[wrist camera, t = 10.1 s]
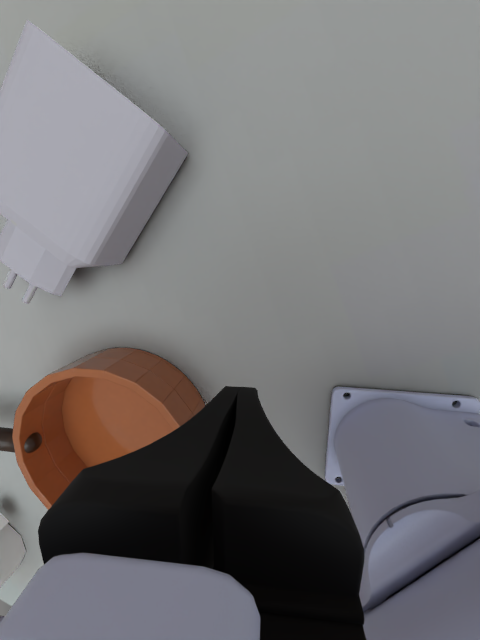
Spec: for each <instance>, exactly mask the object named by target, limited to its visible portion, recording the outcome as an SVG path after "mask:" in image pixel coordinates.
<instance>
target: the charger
mask: <svg viewBox="0 0 480 640" xmlns="http://www.w3.org/2000/svg"><path fill="white" fill-rule="evenodd" d="M187 155H188V152H187V151H186V150H185V149H184V148H183V147H182V146H181V145H180V144H179V143H178V142H177V141H176V140H175V139H174V138H173V137H172V136H171V135H170V134H169V133H168V132H167V131H166V130H165V129H164V128H163V127H162V126H160V125H159V124H158V123H157V122H156V121H155V120H153V119H152V118H151V117H150V116H149V115H147V114H146V113H145V112H144V111H142V110H141V109H140V108H139V107H137V106H136V105H135V104H134V103H132V102H131V101H130V100H129V99H127V98H126V97H125V96H124V95H122V94H121V93H120V92H119V91H117V90H116V89H115V88H114V87H112V86H111V85H110V84H109V83H107V82H106V81H105V80H104V79H102V78H101V77H100V76H99V75H97V74H96V73H95V72H93V71H92V70H91V69H90V68H88V67H87V66H86V65H85V64H83V63H82V62H81V61H80V60H78V59H77V58H76V57H75V56H73V55H72V54H71V53H70V52H68V51H67V50H66V49H65V48H63V47H62V46H61V45H60V44H58V43H57V42H56V41H55V40H53V39H52V38H51V37H49V36H48V35H47V34H46V33H44V32H43V31H42V30H41V29H39V28H38V27H37V26H36V25H34V24H33V23H32V22H30V21H29V20H27V21H26V23H25V26H24V29H23V31H22V34H21V36H20V39H19V42H18V44H17V47H16V50H15V52H14V55H13V57H12V60H11V63H10V65H9V68H8V71H7V73H6V76H5V79H4V81H3V84H2V86H1V89H0V214H1V215H2V216H4V217H5V218H6V219H7V221H6V223H5V225H4V227H3V230H2V232H1V234H0V261H1V262H2V263H4V264H5V265H6V266H7V267H9V268H10V271H9V273H8V275H7V277H6V279H5V281H4V283H3V286H4V288H7V289H10V288H11V286H12V284H13V282H14V280H15V278H16V276H17V274H18V275H19V276H20V277H22V278H23V279H24V280H25V281H27V282H28V283H30V285H29V287H28V289H27V290H26V292H25V294H24V296H23V298H22V301H23V302H24V303H30V301H31V299H32V297H33V295H34V293H35V291H36V289H37V287H38V288H40V289H43V290H45V291H47V292H49V293H51V294H54V295H58V296H61V295H62V293H63V291H64V290H65V288H66V286H67V284H68V282H69V280H70V279H71V277H72V275H73V273H74V271H75V270H76V268H82V267H98V266H109V265H116V264H122V263H123V261H124V259H125V258H126V256H127V254H128V253H129V251H130V249H131V248H132V246H133V244H134V243H135V241H136V239H137V238H138V236H139V234H140V233H141V231H142V229H143V228H144V226H145V224H146V223H147V221H148V219H149V218H150V216H151V214H152V213H153V211H154V209H155V208H156V206H157V204H158V203H159V201H160V200H161V198H162V196H163V195H164V193H165V191H166V190H167V188H168V186H169V185H170V183H171V181H172V180H173V178H174V176H175V175H176V173H177V171H178V170H179V168H180V166H181V165H182V163H183V161H184V160H185V158H186V156H187Z"/></svg>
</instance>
